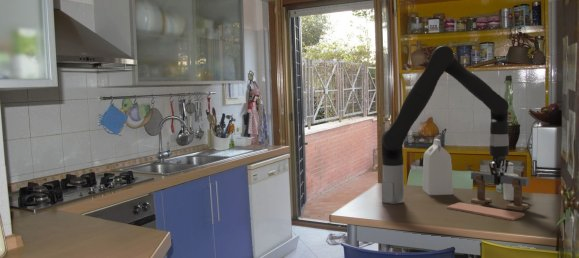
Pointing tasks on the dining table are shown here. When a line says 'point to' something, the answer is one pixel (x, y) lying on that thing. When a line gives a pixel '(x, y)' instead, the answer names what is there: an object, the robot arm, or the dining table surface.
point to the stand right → (517, 197)
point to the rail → (501, 178)
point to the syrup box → (509, 171)
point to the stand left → (480, 192)
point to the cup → (508, 190)
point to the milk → (437, 170)
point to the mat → (486, 211)
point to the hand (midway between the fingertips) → (498, 183)
